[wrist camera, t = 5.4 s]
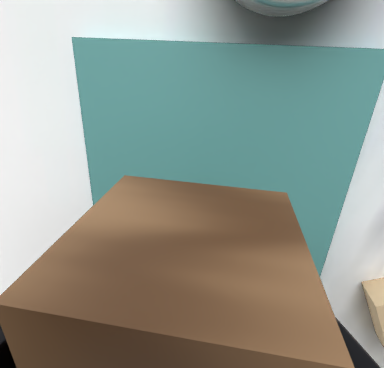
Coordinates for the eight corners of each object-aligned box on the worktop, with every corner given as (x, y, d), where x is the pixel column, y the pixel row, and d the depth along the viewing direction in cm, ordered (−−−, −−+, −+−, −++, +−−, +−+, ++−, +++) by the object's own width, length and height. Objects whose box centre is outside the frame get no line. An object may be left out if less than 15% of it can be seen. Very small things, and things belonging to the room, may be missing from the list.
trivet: (381, 50, 10) (393, 49, 9) (308, 288, 15) (312, 299, 14) (82, 39, 11) (71, 37, 11) (107, 259, 16) (101, 267, 16)
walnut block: (286, 192, 7) (355, 369, 3) (260, 312, 9) (279, 520, 5) (124, 175, 8) (-8, 302, 3) (132, 291, 9) (51, 463, 5)
